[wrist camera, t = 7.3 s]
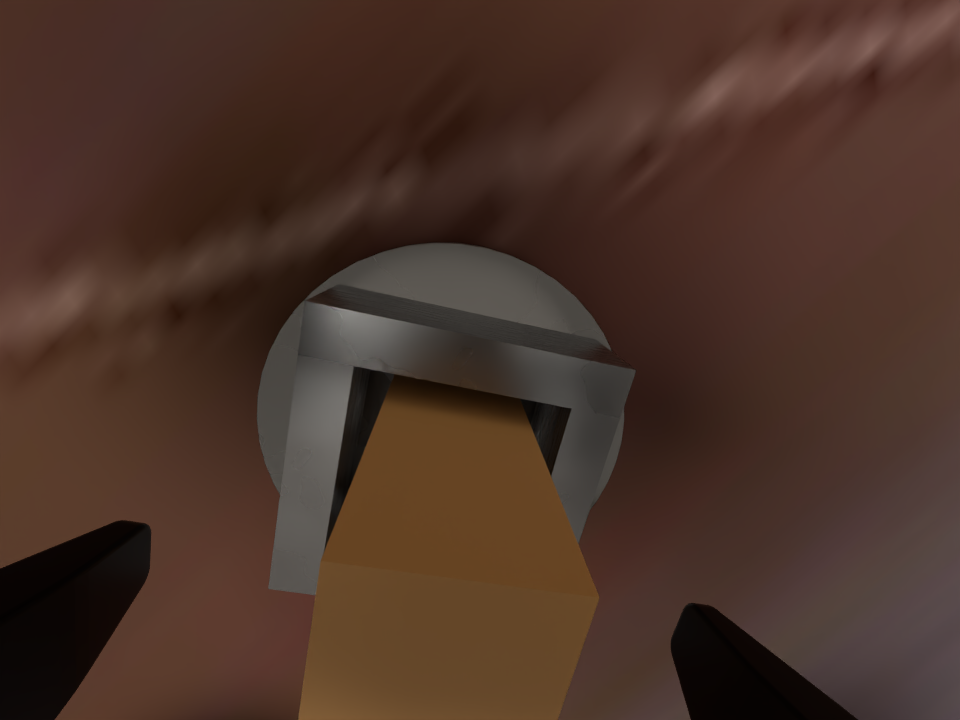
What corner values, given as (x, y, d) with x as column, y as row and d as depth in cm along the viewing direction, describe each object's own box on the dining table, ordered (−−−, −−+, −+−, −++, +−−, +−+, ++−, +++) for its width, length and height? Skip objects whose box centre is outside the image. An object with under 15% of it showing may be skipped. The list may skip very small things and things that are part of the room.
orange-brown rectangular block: (515, 387, 13) (599, 597, 6) (490, 489, 14) (533, 789, 7) (397, 365, 13) (320, 561, 5) (379, 472, 14) (291, 770, 6)
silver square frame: (655, 286, 14) (737, 310, 10) (560, 576, 17) (594, 684, 13) (293, 202, 13) (220, 190, 9) (256, 531, 16) (188, 635, 12)
